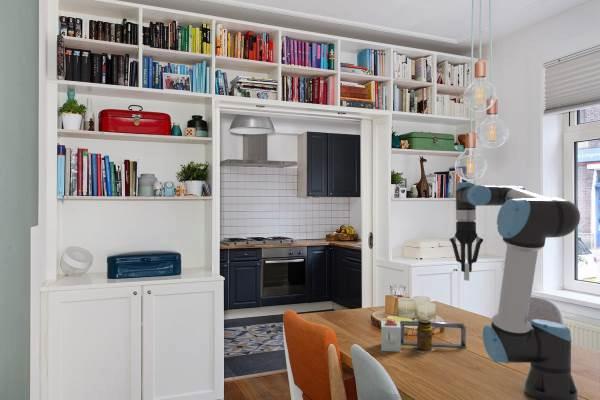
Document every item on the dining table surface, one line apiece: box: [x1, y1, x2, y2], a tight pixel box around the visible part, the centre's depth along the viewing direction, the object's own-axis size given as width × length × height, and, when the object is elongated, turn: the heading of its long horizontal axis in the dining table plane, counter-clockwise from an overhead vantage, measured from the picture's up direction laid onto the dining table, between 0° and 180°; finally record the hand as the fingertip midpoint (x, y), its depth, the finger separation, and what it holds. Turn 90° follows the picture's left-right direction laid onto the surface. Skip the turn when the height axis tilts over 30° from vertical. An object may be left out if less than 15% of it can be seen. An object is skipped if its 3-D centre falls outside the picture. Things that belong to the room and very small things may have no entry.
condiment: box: [409, 319, 437, 354], centre depth 201 cm, size 7×8×12 cm
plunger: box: [385, 318, 396, 326], centre depth 204 cm, size 4×4×9 cm
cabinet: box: [380, 320, 402, 353], centre depth 203 cm, size 11×8×10 cm
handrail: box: [399, 320, 467, 349], centre depth 207 cm, size 28×3×10 cm, turn 80°
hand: (466, 280), depth 190 cm, fingers closed
